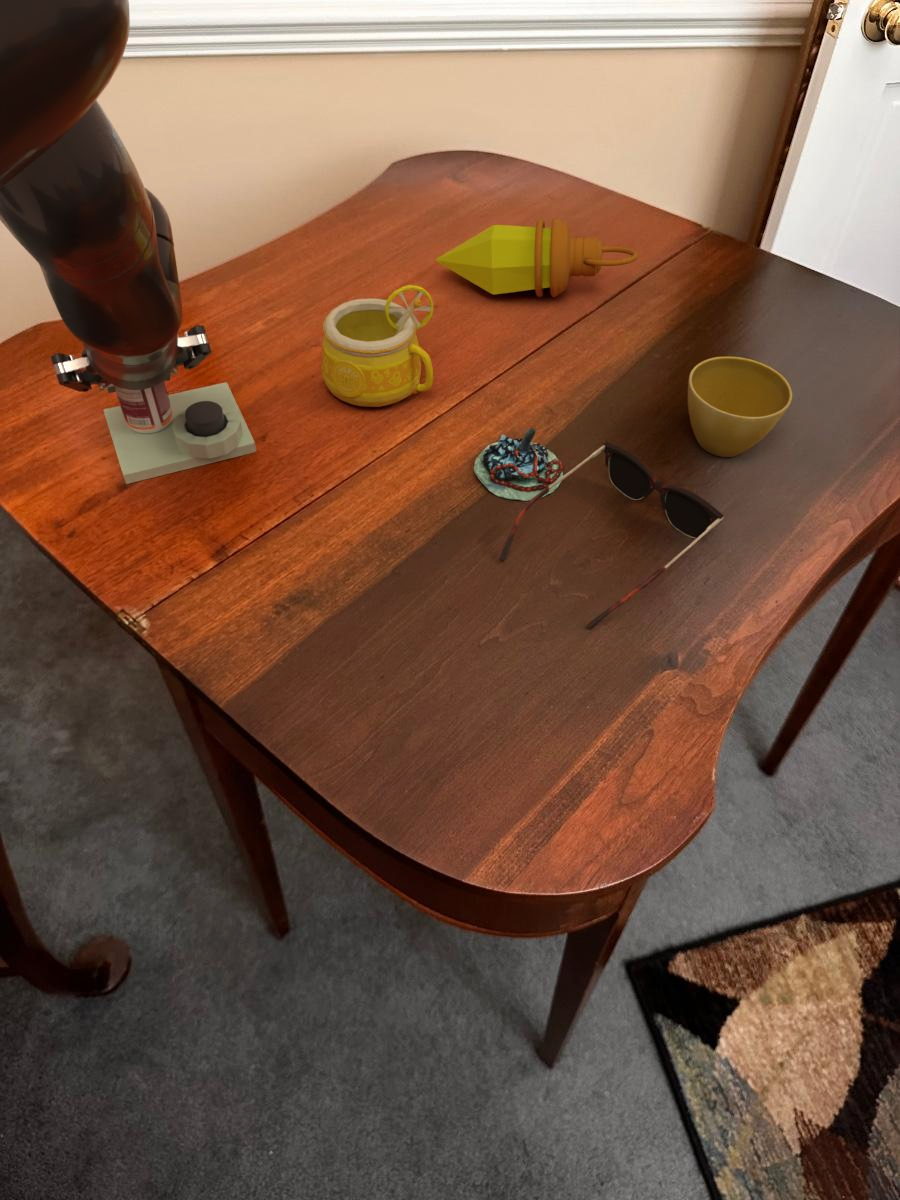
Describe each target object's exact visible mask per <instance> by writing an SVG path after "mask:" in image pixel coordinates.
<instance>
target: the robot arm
mask: <svg viewBox="0 0 900 1200" xmlns="http://www.w3.org/2000/svg"><path fill="white" fill-rule="evenodd" d="M130 18H131V17H130V1H129V0H0V222H1V223H2V224H3V226H4V227H5V228H6V229H7V230H8V231H9V233H10V234H11V235H12V236H13V238H14V239H15V240H16V241H17V242H18V243H19V244H20V245H21V246H22V247H23V248H24V250H26V252H27V253H28V254H29V255H30V256H31V258H32V259H34V260H35V261H36V262H37V264H38V265H39V267H40V270H41V272H42V275H43V277H44V278H43V279H44V281H45V284H46V286H47V289H48V291H49V293H50V296H51V298H52V301H53V303H54V305H55V307H56V310H57V312H58V314H59V316H60V318H61V320H62V322H63V324H64V325H65V327H66V328H67V329H68V330H69V332H70V333H71V334H72V335H73V336H74V337H75V338H76V339H77V340H79V341H80V342H81V343H82V347H83V350H82V352H81V357H78V358H75V355H74V354H69V355H68V354H65V353H60V352H58V353H54V354H53V355H51V356H50V360H51V363H52V367H53V369H54V371H55V374H56V375H55V376H56V378H57V382H58V384H59V385H60V386H62V387H65V388H67V389H71V390H74V391H77V392H83V393H88V392H89V391H90V390H92V389H93V387H92V385H97V387H98V389H99V390H100V391H105V390H107V392H108V394H113V393H116V391H115V387H114V386H117V387H120V388H123V389H128V390H143V389H147V388H151V387H153V386H155V385H157V384H159V383H161V382H162V381H163V380H164V382H169V381H171V376H174V375H176V374H177V373H179V368H178V367H182V366H183V368H184V369H185V370H193V369H194V368H197V367H198V366H199V365H200V364H201V363H202V362H203V361H204V360H205V359H206V358H208V357H209V356H210V355H211V354H212V348H211V345H210V342H209V338H208V335H207V332H206V329H205V326H204V325H203V324H202V325H200V324H197V325H194V326H192V327H191V328H189V330H185V331H183V336H179V332H180V330H181V327H182V323H183V302H182V293H181V289H180V280H179V273H178V266H177V259H176V252H175V243H174V237H173V229H172V222H171V220H170V217H169V214H168V212H167V210H166V208H165V206H164V205H163V204H162V202H161V201H160V199H158V197H157V196H156V195H155V194H154V193H152V191H150V190H149V189H148V188H146V187H145V186H144V182H143V181H142V178H141V175H140V174H139V171H138V169H137V168H136V164H135V163H134V161H133V159H132V157H131V155H130V153H129V151H128V149H127V148H126V146H125V144H124V141H122V138H121V136H120V135H119V134H118V132H117V130H116V128H115V127H114V125H113V123H112V122H111V120H110V118H109V117H108V115H107V114H106V111H104V109H103V108H102V105H101V104H100V103H99V101H98V99H99V97H100V96H101V94H102V93H103V91H105V89H106V88H107V87H108V85H109V83H110V82H111V80H112V78H113V77H114V75H115V73H116V71H117V70H118V67H119V66H120V64H121V62H122V59H123V57H124V54H125V51H126V47H127V44H128V41H129V36H130V32H131V31H130V30H131V22H130V21H131V19H130Z"/></svg>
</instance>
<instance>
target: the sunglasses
mask: <svg viewBox="0 0 900 1200" xmlns="http://www.w3.org/2000/svg"><path fill="white" fill-rule="evenodd" d="M602 444H603V445H601V446H600V447H599V448H598V449H596V450H595V451H594V452H592V453H591V454H590V455H589V456H588V457H587V458H584V459H583V461H581V462H580V463H579V464H577V465H575V467H573V468H572V469H570V470H569V471H568V472H567V473H565V474H563V476H562V477H561V478H560V479H558V480H557V481H556V482H554V483H553V484H551V485H550V486H548V487H547V488H546V489H544V490H543V491H542V492H540V493H539V494H538V495H536V496H535V497H534V498H533V499H531V500H528V501H527V502H526V504H525V505H524V506H523V507H522V509H521V510H520V511H519V514H518V515H517V517H516V519H515V521H514V523H513V525H512V528H511V529H510V532H509V534H508V537H507V539H506V542H505V544H504V546H503V549H502V551H501V553H500V556H499V560H501V561H504V562H506V560H507V558H508V554H509V550H510V548H511V544H512V542H513V539H514V537H515V535H516V532H517V530H518V528H519V525H520V523H521V521H522V519H523V518H524V515H525V514H526V513H527V512H528V510H529V509H530V508H531V507H532V506H533V505H534V504H535V503H537V501H539V500H540V499H542V498H544V497H545V496H544V495H545V494H547V493H548V492H549V490H550V489H551V488H553V487H554V486H555V485H557V484H558V483H559V482H561V483H562V481H563V480H565V479H566V478H568V476H570V475H571V474H573V473H574V472H576V471H577V470H578V469H579V468H581V467H582V466H583V465H585V464H586V463H587V462H588V461H590V460H591V459H594V458H595V457H597V456H599V454H601V453H603V452H604V454H605V457H604V466H605V467H606V468H608V477H609V480H610V482H611V484H612V485H613V486H614V487H615V488H616V489H617V491H619V492H620V493H621V494H622V495H624V496H625V497H627V498H628V499H631V500H633V501H640V500H642V499H643V498H648V497H649V496H650V495H651V494H652V493H653V492H654V491H655V490H656V491H657V492H658V493H659V497H660V505H661V509H662V510H663V511H665V514H666V517H667V519H668V521H669V523H670V524H671V526H672V527H673V528H675V529H676V530H677V531H678V532H680V533H682V534H683V535H685V536H687V537H689V538H692V539H694V540H693V541H692V542H691V543H690V544H688V545H687V546H686V547H685V548H684V549H683V550H681V551H680V552H679V553H678V554H677V555H675V556H674V557H673V558H672V559H671V560H670V561H669V562H668V563H666V564H665V565H664V566H662V567H659V569H657V570H656V571H655V572H653V574H652V575H650V576H649V577H648V578H647V579H645V580H644V581H643V582H641V584H639V585H637V586H636V587H635V588H633V589H632V590H630V591H629V592H627V594H626V595H624V596H623V597H621V598H620V599H618V600H617V601H616V602H615V603H613V604H612V605H610V607H608V608H607V609H606V610H604V611H603V612H602V613H600V614H599V615H597V616H596V617H595V618H593V619H592V620H591V621H590V622H588V623H587V627H588V628H589V629H590V630H592V629H594V628H595V627H596V626H597V625H599V624H600V623H601V622H602V621H603V620H604V619H605V618H606V617H607V616H608V615H610V614H611V613H613V612H614V611H615V610H617V609H618V608H619V607H621V606H622V605H624V603H626V602H627V601H628V600H630V599H631V598H633V597H634V596H635V595H636V594H637V593H639V592H641V591H642V590H643V589H645V588H646V587H647V586H649V585H650V584H652V582H654V581H655V580H656V579H658V577H660V576H661V575H662V574H663V573H664V572H665V571H666V570H667V569H668V568H669V567H670V566H671V565H672V564H674V563H675V562H676V561H677V560H678V559H679V558H681V557H682V556H683V555H684V554H685V553H687V551H689V550H690V549H691V548H692V547H693V546H694V545H695V544H697V542H699V541H700V540H701V539H702V538H703V537H704V536H705V535H706V534H709V533H711V532H712V531H713V529H714V528H715V527H716V526H717V525H719V524H720V523H722V522H723V519H724V518H725V515H724V514H723V513H722V512H720V511H719V510H718V509H717V508H716V507H715V506H713V504H711V503H709V502H708V501H707V500H705V499H704V498H702V497H701V496H699V495H697V493H695V492H692V491H690V490H688V489H686V488H683V487H681V486H678V485H675V484H666V483H663V482H662V481H660V480H659V478H657V475H656V474H655V473H654V472H653V470H651V468H650V467H649V466H647V464H646V463H644V462H643V461H642V460H641V459H640V458H638V457H637V456H636V455H634V454H633V453H631V452H630V451H628V450H626V449H624V448H622V447H620V446H619V445H616V444H614V443H612V442H609V441H605V442H604V443H602ZM543 496H544V497H543ZM541 497H542V498H541Z"/></svg>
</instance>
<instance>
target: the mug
mask: <svg viewBox="0 0 900 1200" xmlns="http://www.w3.org/2000/svg"><path fill="white" fill-rule="evenodd" d="M412 290H413V291H417V292H416V294H415V296H414V297H413V299H412V301H411V303H410V305H409V304H408V302H407V300H406V297H405V295H404V292H406V291H412ZM423 295H425V296H426V297H427V298H428V299H429V304H428V305H422V300H421V299H420V298H421V297H422V296H423ZM396 296H399V297H400V298H401V300H402V301H403V303H404V304H405V306H406V307H404V306H402V305H400V304H399V303H395V302H394V301H393V300H394V299H395V297H396ZM434 308H435V307H434V301H433V298H432V296H431V293H429V292H428V291H427V290H426V289H425V288H423V287H422V286H419V285H415V284H409V285H404V286H401V287H400V288H397V289H395V290H394V291H393V292H392V293H391V294H390V295H389V296H388V298H387V299H383V298H375V297H374V298H372V297H371V298H369V297H368V298H357V299H352V300H349V301H345V302H343V303H341V304H339V305H338V306H335V308H333V309H332V310H331V311H330V312H329V313H328V314H327V315H326V316H325V317H324V319H323V322H322V332H323V337H322V347H321V348H322V349H321V375H322V380H323V382H324V384H325V386H326V388H327V389H328V390H329V391H330V392H331V394H332V395H333V396H334V397H336V398H338V400H340V401H342V402H345V403H347V404H350V405H352V406H359V407H372V408H379V407H383V406H384V407H386V406H389V405H393V404H396V403H399V402H400V401H403V400H404V399H406V398H407V397H410V396H411V395H412V394H414V395H417V393H419V392H421V393H424V392H426V391H429V390H430V389H431V387H433V382H434V375H435V374H434V368H433V363H432V359H431V356H430V355H429V354H428V353H427V351H425V350H424V349H423V348H422V347H421V346H420V345H419V339H418V337H417V330H419V329H421V328H423V327H424V326H425V325H427V324H428V323H429V321H430V320H431V318H432V316H433V314H434V310H435V309H434ZM414 311H420V312H422V311H424V312H428V313H427V315H426V317H425V318H424V319H423V320H422V321H419V319H418V318H417V317H416V315H415V313H414ZM421 361H422V362H423V363H424V369H425V381H424V383H421V380H420V379H421V372H422V362H421Z"/></svg>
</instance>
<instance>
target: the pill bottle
mask: <svg viewBox="0 0 900 1200" xmlns="http://www.w3.org/2000/svg"><path fill="white" fill-rule="evenodd" d="M165 382H166V381H164V380H163V381H162V382H161V383H159V384H157V385H155V386H153V387H151V388H147V389H143V390H128V389H123V388H120V387H117V386H114V387H115V391H116V392H115V394H116V397H117V399H118V402H119V403H118V404H119V406H121V409H122V412H123V415H124V418H125V421H126V424H127V426H128V427H129V428H130V429H131V430H132V431H135V432H137V433H143V434H148V433H154V432H158V431H161V430H163V429H165V428H166V427H167V426H168V425H169V424H170V423H171V422H172V419H173V412H172V408H171V404H170V401H169V397H168V395H169V394H168V390H167V386H166V383H165Z"/></svg>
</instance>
